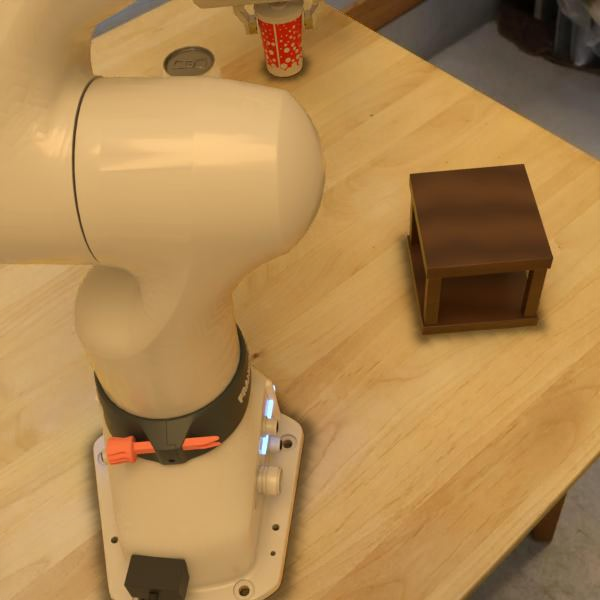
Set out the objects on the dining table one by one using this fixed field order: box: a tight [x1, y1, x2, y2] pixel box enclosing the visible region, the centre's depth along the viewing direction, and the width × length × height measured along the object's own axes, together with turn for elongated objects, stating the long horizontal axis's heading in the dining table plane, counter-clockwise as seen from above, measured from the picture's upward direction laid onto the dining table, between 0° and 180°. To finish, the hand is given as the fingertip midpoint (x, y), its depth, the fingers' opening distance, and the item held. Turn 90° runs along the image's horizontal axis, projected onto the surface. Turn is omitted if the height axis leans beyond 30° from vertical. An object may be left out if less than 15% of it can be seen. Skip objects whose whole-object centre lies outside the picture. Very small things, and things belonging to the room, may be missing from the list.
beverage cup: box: [253, 0, 305, 78], centre depth 104 cm, size 6×6×14 cm
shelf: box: [406, 163, 554, 336], centre depth 82 cm, size 12×11×10 cm
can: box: [162, 45, 223, 78], centre depth 97 cm, size 6×6×12 cm
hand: (281, 28), depth 105 cm, fingers closed on beverage cup, 6 cm apart
